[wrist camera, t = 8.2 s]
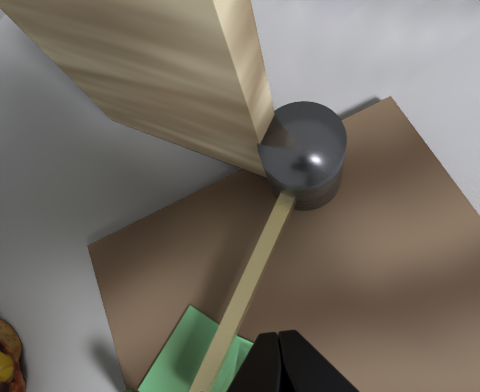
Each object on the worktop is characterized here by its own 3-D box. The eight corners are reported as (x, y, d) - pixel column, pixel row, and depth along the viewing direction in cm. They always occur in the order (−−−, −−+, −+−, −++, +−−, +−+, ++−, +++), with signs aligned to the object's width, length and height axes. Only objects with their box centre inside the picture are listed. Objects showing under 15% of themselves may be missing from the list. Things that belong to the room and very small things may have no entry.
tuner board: (637, 444, 14) (725, 477, 11) (190, 643, 15) (156, 726, 12) (388, 104, 20) (400, 65, 17) (85, 253, 21) (45, 241, 18)
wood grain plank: (238, 426, 16) (47, 661, 5) (12, 286, 20) (-367, 237, 9) (352, 157, 19) (400, -91, 8) (133, 85, 23) (-42, -140, 12)
